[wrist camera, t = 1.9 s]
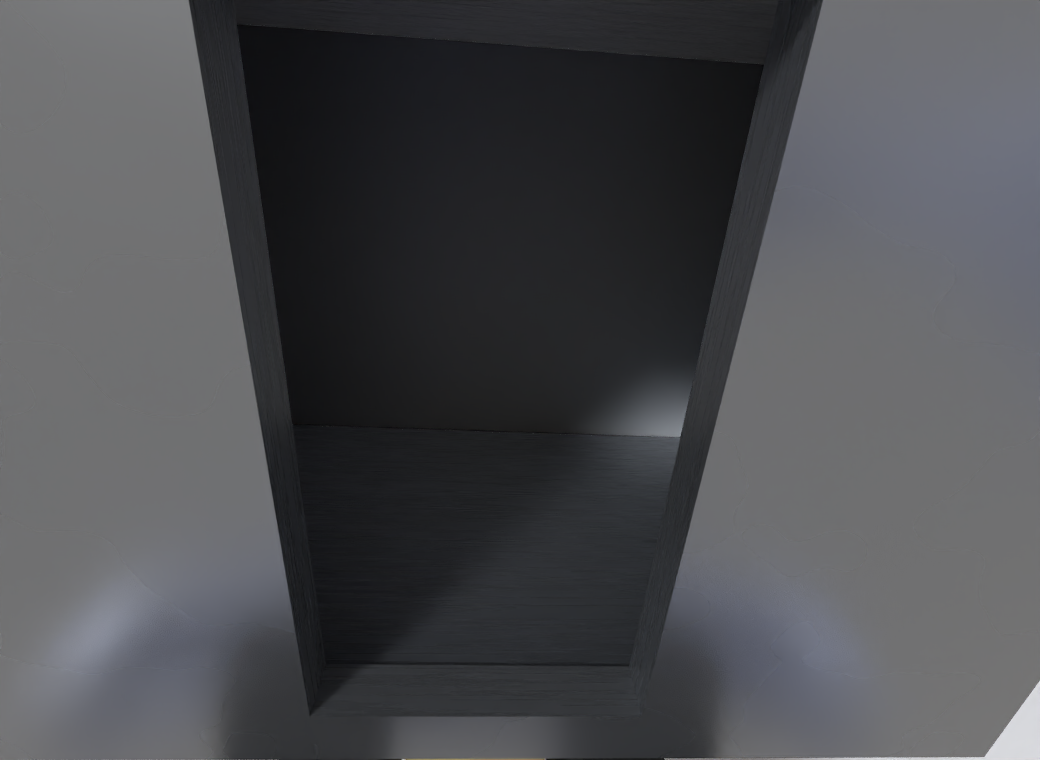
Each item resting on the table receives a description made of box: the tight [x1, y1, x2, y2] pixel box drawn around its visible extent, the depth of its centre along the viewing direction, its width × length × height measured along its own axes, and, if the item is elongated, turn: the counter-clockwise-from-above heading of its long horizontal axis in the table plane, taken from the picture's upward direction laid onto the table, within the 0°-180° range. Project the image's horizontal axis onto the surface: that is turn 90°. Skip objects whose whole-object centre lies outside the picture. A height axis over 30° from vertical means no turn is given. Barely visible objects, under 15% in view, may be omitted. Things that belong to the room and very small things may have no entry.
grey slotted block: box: [0, 0, 1040, 760], centre depth 7 cm, size 12×8×6 cm, turn 87°
